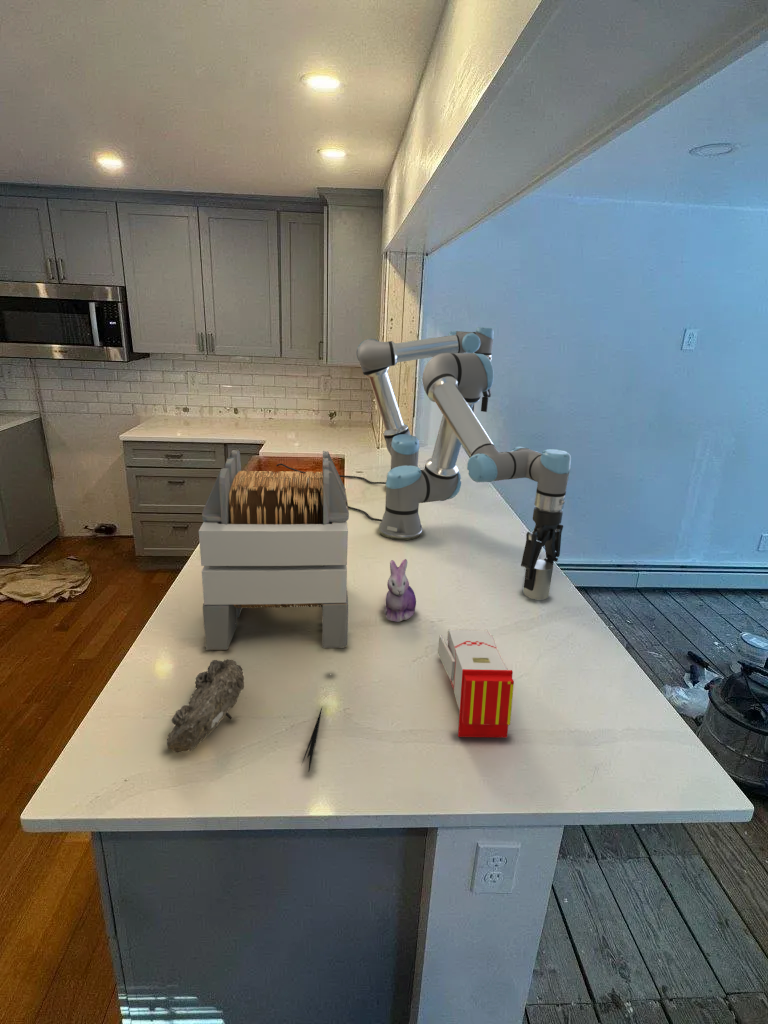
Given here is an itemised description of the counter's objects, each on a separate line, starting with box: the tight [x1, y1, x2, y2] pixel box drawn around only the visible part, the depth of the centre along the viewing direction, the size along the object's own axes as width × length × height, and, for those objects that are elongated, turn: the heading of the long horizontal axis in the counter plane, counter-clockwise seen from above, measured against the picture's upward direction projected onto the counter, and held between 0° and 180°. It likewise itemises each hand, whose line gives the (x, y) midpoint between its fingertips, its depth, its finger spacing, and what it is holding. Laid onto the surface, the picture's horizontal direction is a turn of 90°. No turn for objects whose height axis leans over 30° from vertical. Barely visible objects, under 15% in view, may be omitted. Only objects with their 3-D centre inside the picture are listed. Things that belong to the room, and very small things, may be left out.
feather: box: [301, 673, 332, 771], centre depth 108 cm, size 2×28×2 cm
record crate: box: [198, 449, 350, 651], centre depth 138 cm, size 34×33×41 cm
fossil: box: [166, 658, 245, 754], centre depth 106 cm, size 22×10×15 cm
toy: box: [437, 628, 515, 738], centre depth 117 cm, size 12×13×30 cm
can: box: [522, 558, 554, 601], centre depth 159 cm, size 7×7×9 cm
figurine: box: [384, 558, 417, 623], centre depth 145 cm, size 9×10×15 cm
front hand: (536, 584), depth 159 cm, fingers open, 7 cm apart
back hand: (477, 413), depth 254 cm, fingers open, 13 cm apart
